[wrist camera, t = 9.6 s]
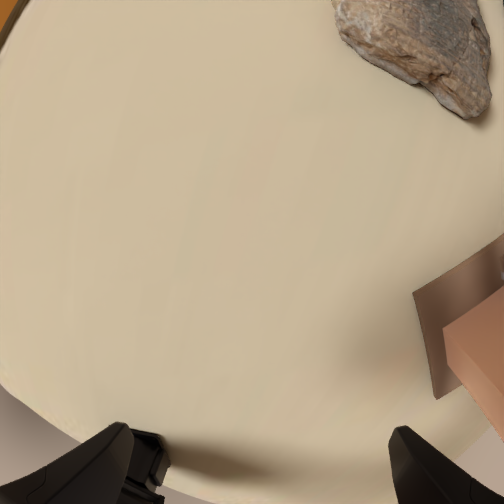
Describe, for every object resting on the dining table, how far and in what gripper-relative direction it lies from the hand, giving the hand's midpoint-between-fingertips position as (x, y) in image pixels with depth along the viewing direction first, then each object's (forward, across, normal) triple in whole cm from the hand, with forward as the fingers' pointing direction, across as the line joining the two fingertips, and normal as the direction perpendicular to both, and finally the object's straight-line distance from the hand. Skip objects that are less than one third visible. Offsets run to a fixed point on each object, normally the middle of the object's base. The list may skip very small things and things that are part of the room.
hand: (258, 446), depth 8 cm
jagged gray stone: (+14, -14, -24) cm, 31 cm away
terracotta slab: (+12, -20, +4) cm, 24 cm away
